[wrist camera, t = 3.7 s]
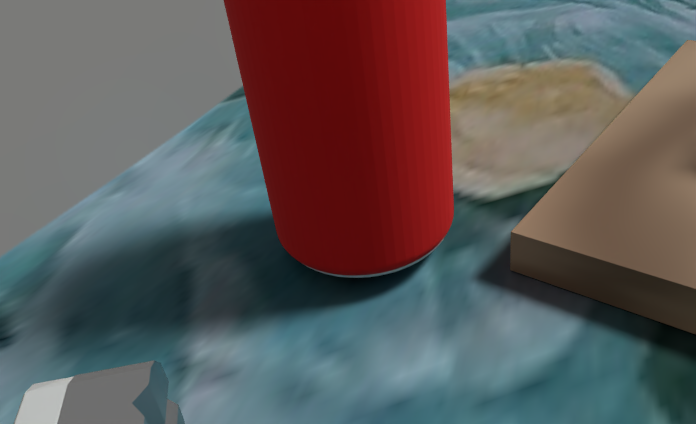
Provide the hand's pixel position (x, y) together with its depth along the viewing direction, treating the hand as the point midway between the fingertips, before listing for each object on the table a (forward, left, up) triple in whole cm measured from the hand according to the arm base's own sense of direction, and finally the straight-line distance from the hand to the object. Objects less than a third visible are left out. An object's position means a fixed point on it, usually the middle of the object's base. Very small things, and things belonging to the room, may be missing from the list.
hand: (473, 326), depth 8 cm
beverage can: (+9, -8, -7) cm, 14 cm away
